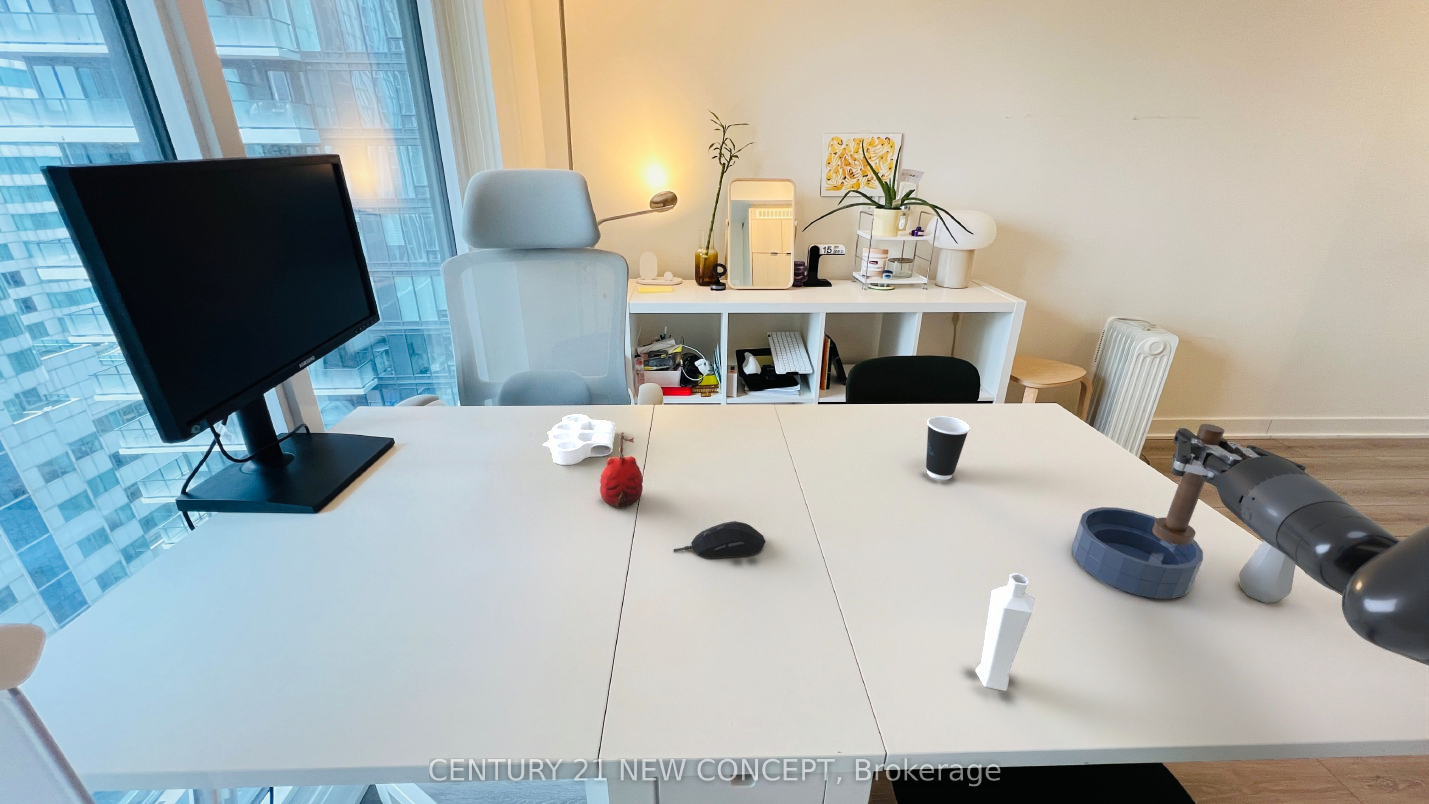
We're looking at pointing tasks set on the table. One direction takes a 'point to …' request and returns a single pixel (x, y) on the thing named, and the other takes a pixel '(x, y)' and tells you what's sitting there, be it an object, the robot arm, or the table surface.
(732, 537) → the gaming mouse
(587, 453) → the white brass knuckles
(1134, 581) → the bowl
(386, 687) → the table surface
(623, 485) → the red clay folk toy
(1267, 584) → the salt shaker
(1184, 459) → the robot arm
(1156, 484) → the table surface
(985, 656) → the perfume bottle
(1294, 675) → the table surface
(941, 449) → the dixie cup
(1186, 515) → the pestle
